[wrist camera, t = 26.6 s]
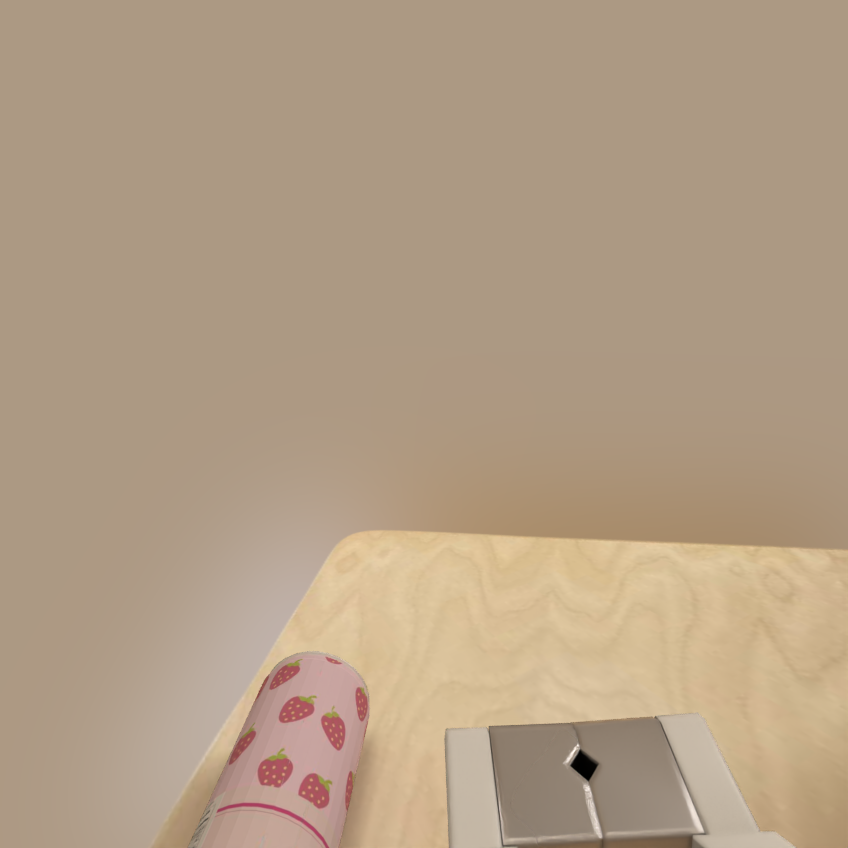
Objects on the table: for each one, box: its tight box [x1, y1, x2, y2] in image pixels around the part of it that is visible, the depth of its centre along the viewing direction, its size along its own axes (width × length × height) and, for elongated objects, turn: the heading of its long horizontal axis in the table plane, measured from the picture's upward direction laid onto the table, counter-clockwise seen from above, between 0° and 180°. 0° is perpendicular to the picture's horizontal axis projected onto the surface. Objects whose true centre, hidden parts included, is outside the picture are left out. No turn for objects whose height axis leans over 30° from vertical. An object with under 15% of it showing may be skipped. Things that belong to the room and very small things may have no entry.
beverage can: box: [188, 651, 369, 848], centre depth 31 cm, size 6×6×15 cm
